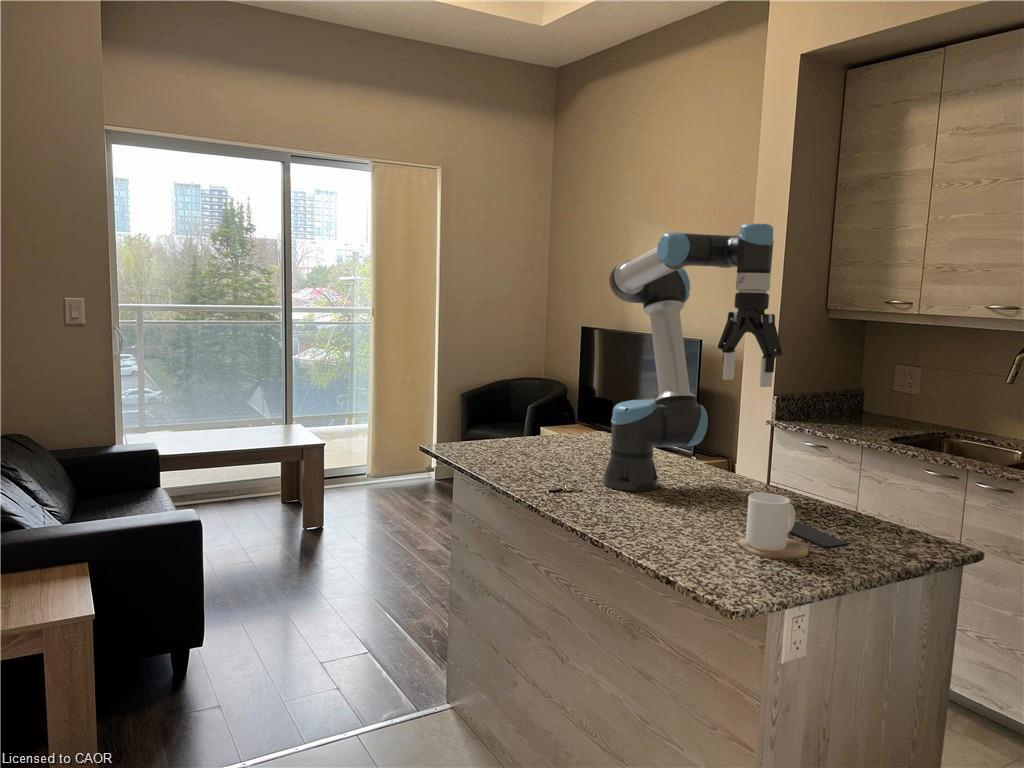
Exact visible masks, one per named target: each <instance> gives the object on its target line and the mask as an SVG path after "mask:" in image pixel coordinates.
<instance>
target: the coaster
mask: <svg viewBox="0 0 1024 768" xmlns="http://www.w3.org/2000/svg"><path fill="white" fill-rule="evenodd" d="M738 546H739V547H740V549H742V550H744V551H745V552H747V553H749V554H752V555H756V556H759V557H763V558H767V559H772V560H780V561H781V560H783V561H786V560H787V561H789V560H790V561H792V560H793V561H794V560H798V559H799V560H801V559H803V558H806V557H807V556H808V555H809V548H808V546H806V545H805V544H804V543H803V542H800V541H797V540H795V539H792V538H790V537H787V545H786V548H785V549H783V550H781V551H763V550H758V549H755V548H753V547H751V546H749V545H748V544H747V542H746V535H744V536H741V537H740V538H738Z"/></svg>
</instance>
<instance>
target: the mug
mask: <svg viewBox="0 0 1024 768" xmlns="http://www.w3.org/2000/svg"><path fill="white" fill-rule="evenodd" d="M746 515H747V517H746V530H745V536H746V542H747V544H748V545H749V546H751V547H753V548H755V549H758V550H763V551H781V550H783V549H785V548H786V545H787V538H788V536H789V535H788V534H789V532H790V531H791V530H792V528H793V526H794V523H796V511H795V508H794V506H793V504H791V500H790V498H788V497H786V496H785V495H780V494H776V493H769V492H756V493H750V494H749V495H748V502H747V514H746Z"/></svg>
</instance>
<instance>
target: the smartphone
mask: <svg viewBox="0 0 1024 768" xmlns="http://www.w3.org/2000/svg"><path fill="white" fill-rule="evenodd" d="M788 534H790V535H792V536H793V537H794V536H795V538H796V537H797V538H799V539H801V540H804V541H806V542H808V543H810V544H813V545H815V546H817V547H820V548H823V549H834V548H841V547H847V546H849V542H847V541H845V540H843V539H839V538H837V537H835V536H833V535H830V534H828V533H826V532H824V531H821V530H819V529H817V528H814V527H811V526H809V525H807V524H804V523H802V522H795V523H794V526H793V528H792V530H791V531H790V532H789V533H788Z"/></svg>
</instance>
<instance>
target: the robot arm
mask: <svg viewBox="0 0 1024 768" xmlns="http://www.w3.org/2000/svg"><path fill="white" fill-rule="evenodd" d="M774 243H775V242H774V227H773V226H772V225H771V224H768V223H745V224H742V225H741V226H740V227H739V231H738V234H736V235H734V234H733V235H723V234H704V233H703V234H702V233H689V232H688V233H687V232H686V233H685V232H679V231H677V232H667V233H664V234H663V235H661V237H660V239H659V240H658V242H657V246H656V247H654V248H653V249H650V250H649V251H647V252H646V253H644V254H642V255H640V256H638V257H636V258H634V259H625V260H623V261H621V262H619V263H618V264H616V265H615V266H614V267H613V268H612V270H610V274H609V277H608V281H609V282H608V283H609V287H610V290H611V291H612V293H613V295H614V296H615V297H617V298H618V299H620V300H622V301H623V302H625V303H626V302H627V303H630V304H634V303H635V304H642V306H643V312H644V313H645V314H646V315H648V316H649V319H650V327H651V328H650V329H651V338H652V347H653V352H654V353H653V354H654V363H655V370H656V371H655V372H656V379H657V387H658V388H657V389H658V396H657V397H656V399H654V400H650V399H631V400H626V401H621V402H619V403H617V404H616V405H614V407H613V409H612V416H611V421H610V422H611V432H610V433H611V435H610V436H611V437H610V440H611V441H610V456H609V459H608V462H607V464H606V467H605V470H604V473H603V475H602V477H603V478H602V484H603V485H604V486H606V487H607V488H611V489H615V490H617V491H618V490H620V491H627V492H646V491H647V492H648V491H653V490H655V489H657V488H658V487H659V478H658V474H657V473H658V472H657V470H656V469H657V468H656V466H655V465H656V464H655V462H654V455H653V454H654V448H664V447H665V448H669V447H670V448H671V447H672V448H673V447H674V448H675V447H681V448H685V447H691V446H693V447H694V446H697V445H699V444H700V443H701V442H702V441H703V440H704V437H705V436H706V434H707V429H708V420H709V419H708V413H707V409H705V408H706V407H704V405H702V404H699V403H698V401H697V396H696V395H695V394H694V393H692V392H691V390H690V381H689V375H688V367H687V360H686V351H685V343H684V335H683V334H684V333H683V327H682V319H681V311H682V310H683V309H684V307H685V304H686V302H687V301H688V300H689V297H690V291H691V284H690V283H691V282H690V278H689V275H688V273H687V271H686V270H685V267H688V266H694V267H696V266H698V267H715V268H716V267H717V268H724V269H730V268H736V281H735V283H736V284H735V290H737V291H738V292H736V293H735V294H734V308H735V309H737V311H729V312H728V313H727V320H726V324H725V326H724V329H723V331H722V334H721V337H720V339H719V341H718V344H717V348H718V350H721V352H722V353H723V356H722V365H723V368H722V370H723V371H722V380H726V381H727V380H729V381H730V380H732V381H733V380H734V379H735V367H736V365H735V363H736V350H735V349H736V348H737V346H738V344H739V343H740V342H741V340H742V338H743V336H744V335H745V334H747V333H751V334H752V335H754V336H755V339H756V341H757V343H758V346H759V348H760V350H761V351H762V352H761V353H762V354H763V355H762V356H761V358H760V359H761V361H760V372H759V373H760V376H759V388H771V387H773V386H772V384H773V383H772V382H773V373H774V371H775V360H776V358H777V357H782V356H783V349H782V346H781V341H780V339H779V334H778V330H777V326H776V315H775V314H774V313H765V311H766V310H767V309H769V307H770V306H769V303H770V295H769V293H768V291H770V290H771V277H772V276H771V275H772V274H771V271H772V262H773V252H774V251H773V250H774Z"/></svg>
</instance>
